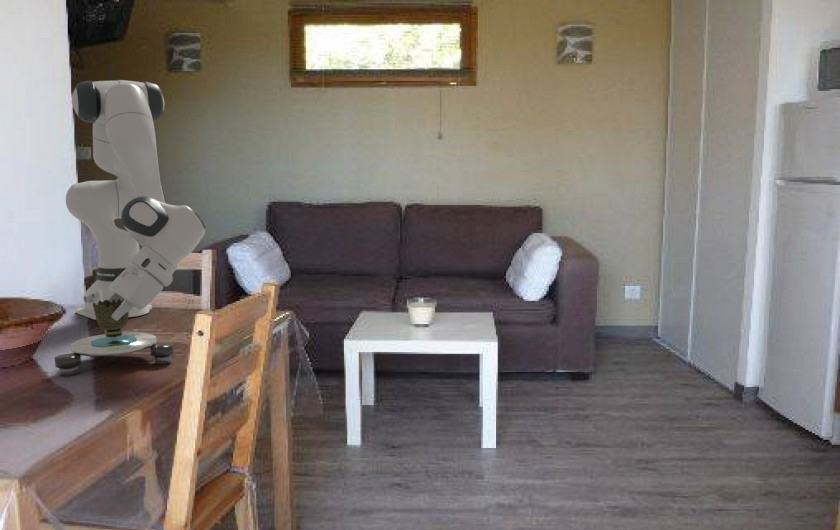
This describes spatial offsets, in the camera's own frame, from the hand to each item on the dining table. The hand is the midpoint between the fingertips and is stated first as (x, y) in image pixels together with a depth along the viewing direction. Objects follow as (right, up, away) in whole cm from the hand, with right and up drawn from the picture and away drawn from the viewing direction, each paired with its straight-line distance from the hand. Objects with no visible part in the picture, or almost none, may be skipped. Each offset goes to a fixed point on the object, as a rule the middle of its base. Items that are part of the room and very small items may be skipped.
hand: (109, 315), depth 165 cm
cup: (+1, -5, +1) cm, 5 cm away
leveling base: (-1, -11, 0) cm, 11 cm away
